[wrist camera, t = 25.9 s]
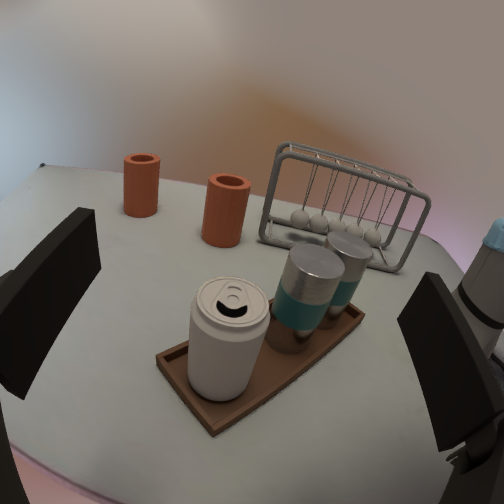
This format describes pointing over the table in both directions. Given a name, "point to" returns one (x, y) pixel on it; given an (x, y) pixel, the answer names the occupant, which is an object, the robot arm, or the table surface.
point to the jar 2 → (225, 209)
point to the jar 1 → (141, 184)
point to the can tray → (253, 373)
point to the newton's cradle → (321, 223)
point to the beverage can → (225, 336)
